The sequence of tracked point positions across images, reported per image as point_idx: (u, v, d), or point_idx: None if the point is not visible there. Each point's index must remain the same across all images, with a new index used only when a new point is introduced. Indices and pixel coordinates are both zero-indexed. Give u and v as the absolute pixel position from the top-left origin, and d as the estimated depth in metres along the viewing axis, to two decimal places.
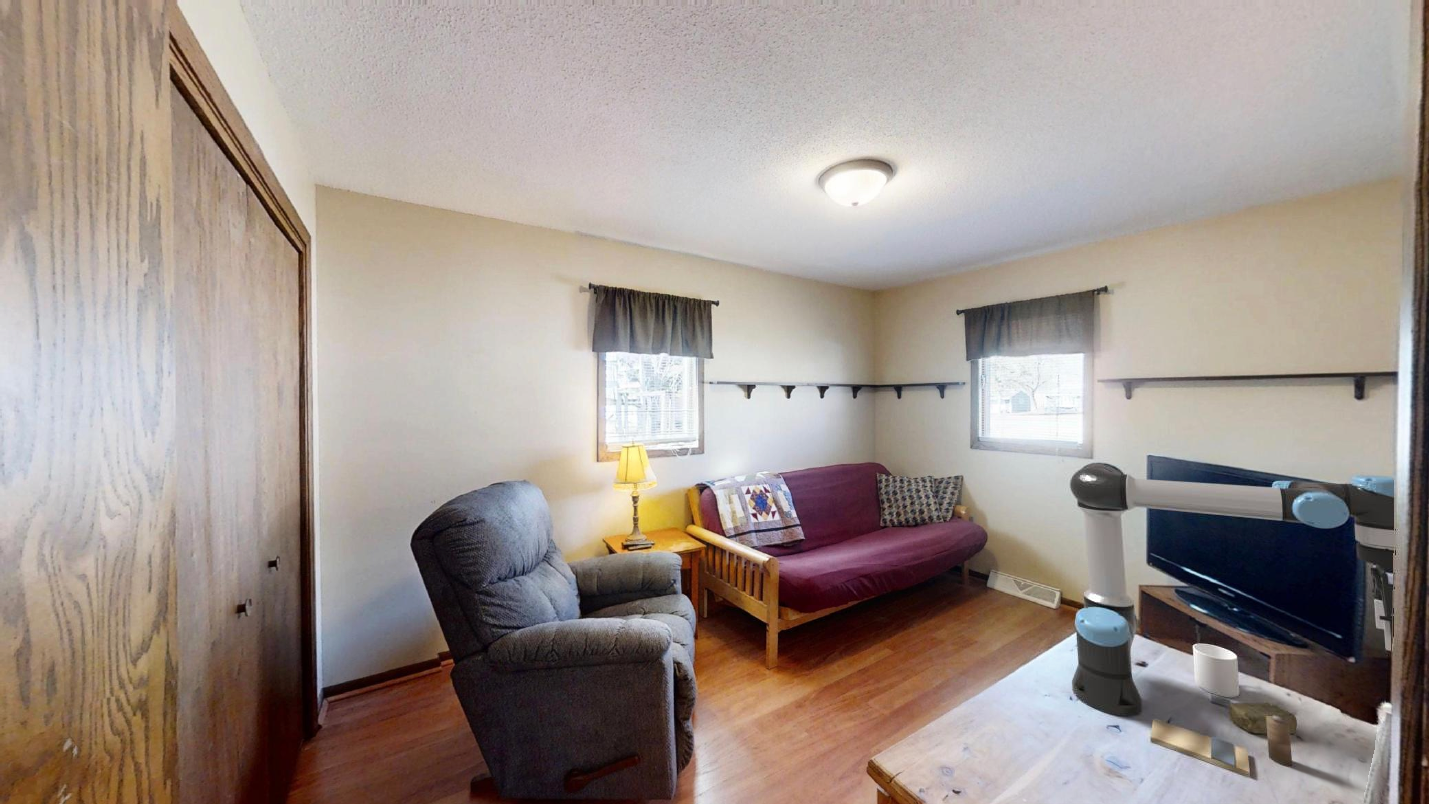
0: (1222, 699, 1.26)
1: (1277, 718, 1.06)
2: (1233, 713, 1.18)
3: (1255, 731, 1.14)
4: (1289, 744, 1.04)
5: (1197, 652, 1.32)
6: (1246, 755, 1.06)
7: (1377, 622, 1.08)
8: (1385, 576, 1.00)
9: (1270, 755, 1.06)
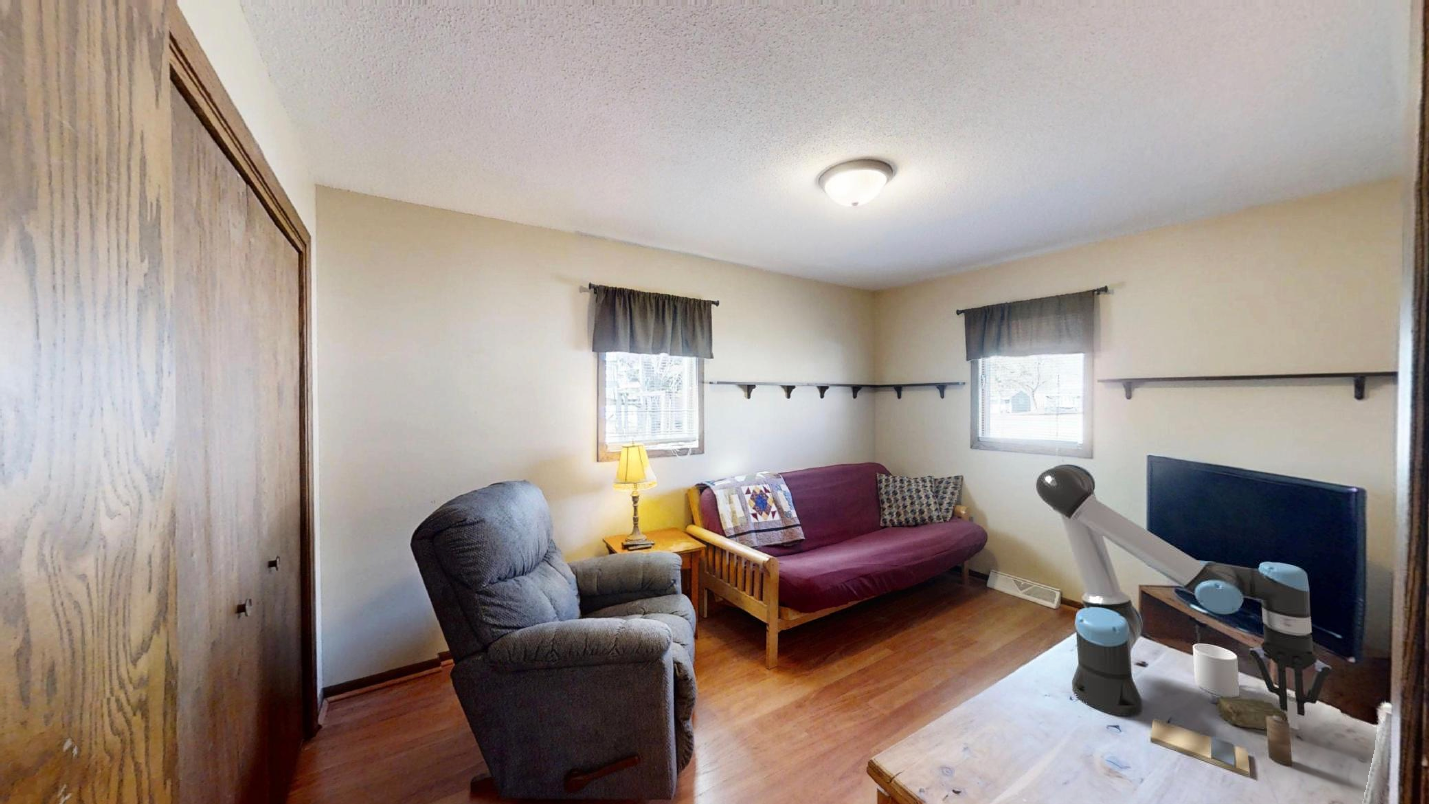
0: None
1: (1277, 718, 1.06)
2: (1220, 706, 1.21)
3: (1239, 724, 1.16)
4: (1289, 744, 1.04)
5: (1197, 652, 1.32)
6: (1246, 755, 1.06)
7: None
8: (1250, 650, 1.18)
9: (1270, 755, 1.06)
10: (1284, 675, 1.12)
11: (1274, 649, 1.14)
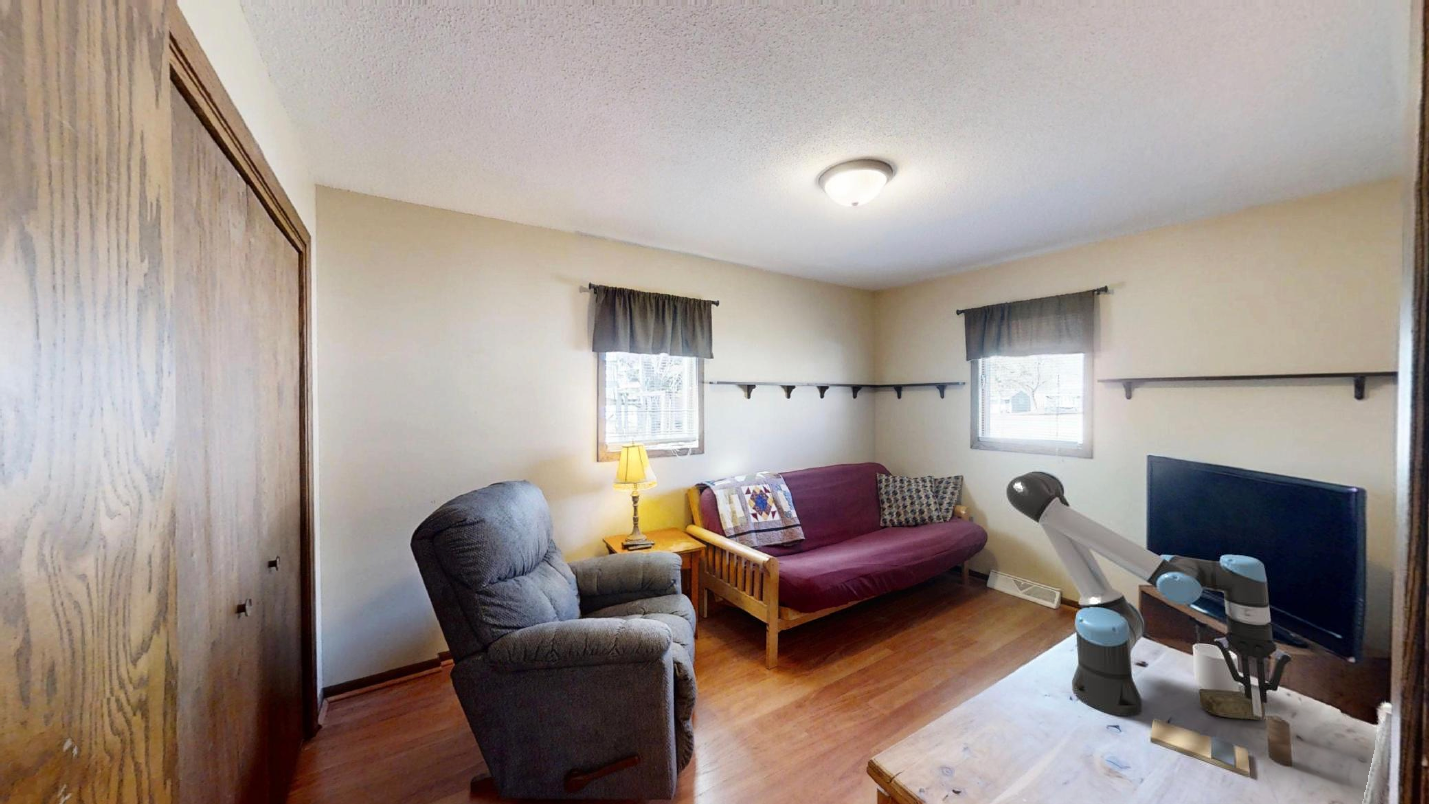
0: None
1: (1277, 718, 1.06)
2: (1201, 698, 1.24)
3: (1219, 713, 1.19)
4: (1289, 744, 1.04)
5: (1197, 652, 1.32)
6: (1246, 755, 1.06)
7: None
8: (1215, 641, 1.22)
9: (1270, 755, 1.06)
10: (1247, 664, 1.17)
11: (1237, 639, 1.18)
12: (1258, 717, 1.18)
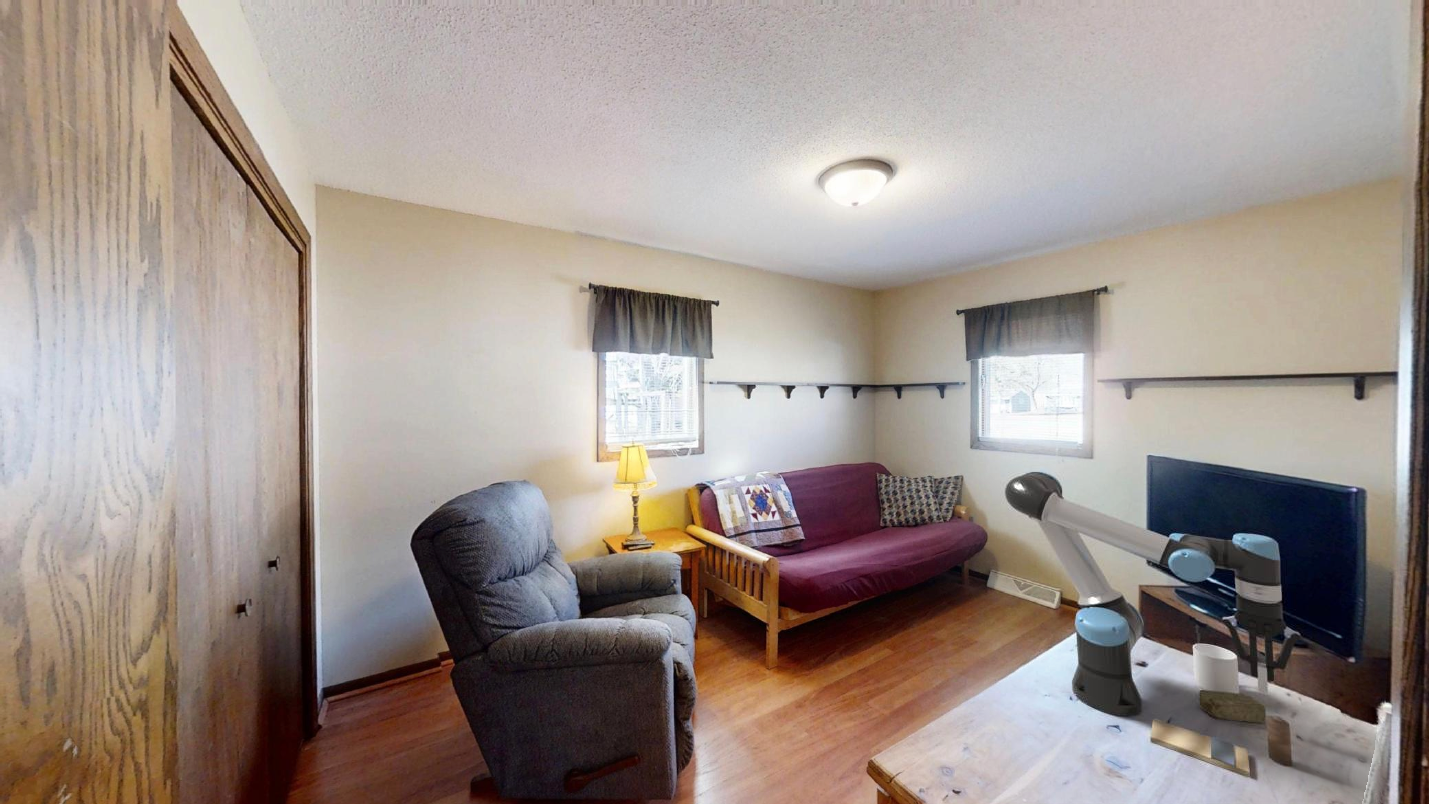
0: None
1: (1277, 718, 1.06)
2: (1201, 699, 1.24)
3: (1218, 716, 1.20)
4: (1289, 744, 1.04)
5: (1197, 652, 1.32)
6: (1246, 755, 1.06)
7: None
8: (1223, 619, 1.21)
9: (1270, 755, 1.06)
10: (1255, 642, 1.16)
11: (1246, 617, 1.17)
12: (1258, 720, 1.17)
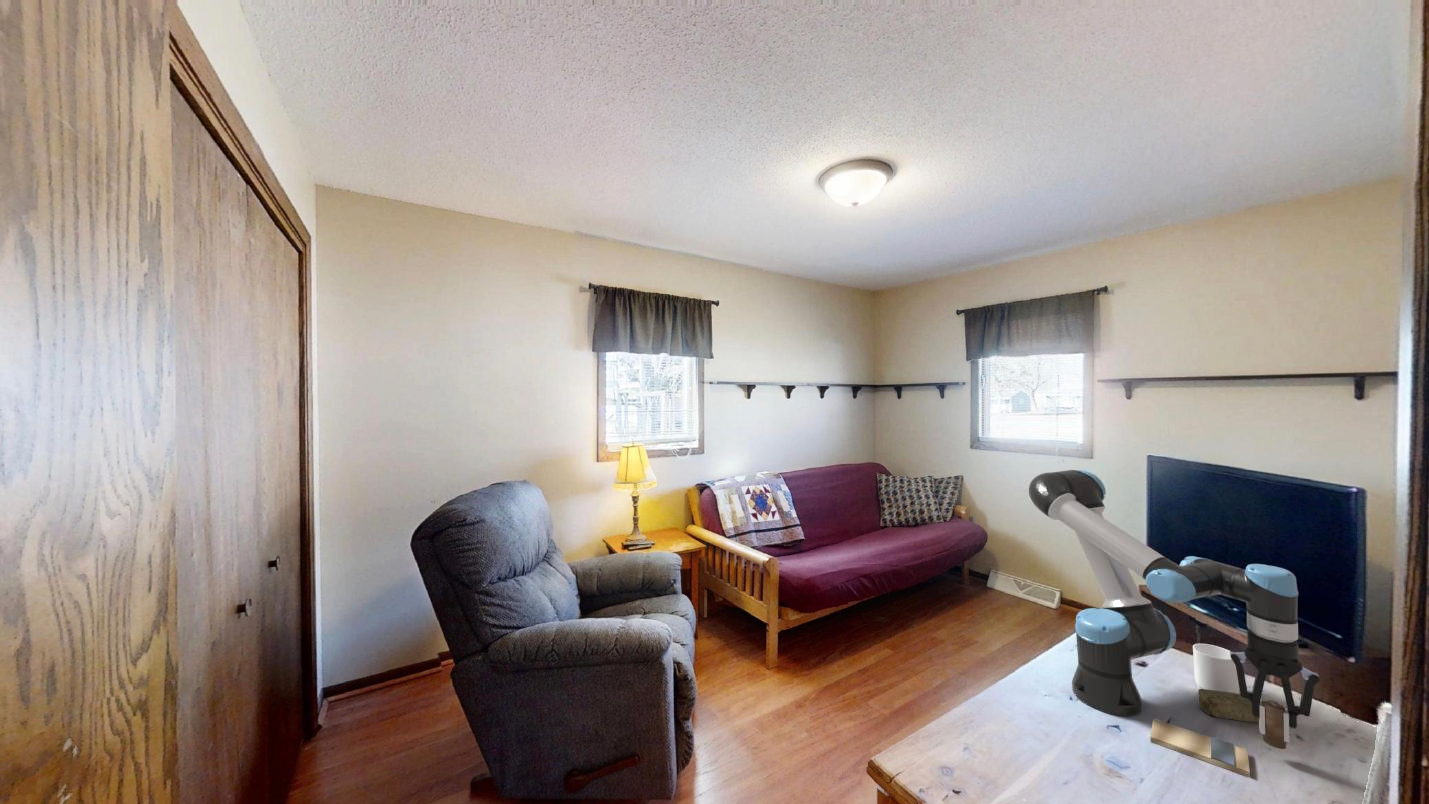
0: None
1: (1273, 702, 1.06)
2: (1200, 698, 1.24)
3: (1215, 714, 1.20)
4: None
5: (1197, 652, 1.32)
6: (1246, 755, 1.06)
7: None
8: None
9: (1264, 738, 1.07)
10: (1262, 682, 1.07)
11: (1258, 656, 1.07)
12: (1257, 720, 1.17)
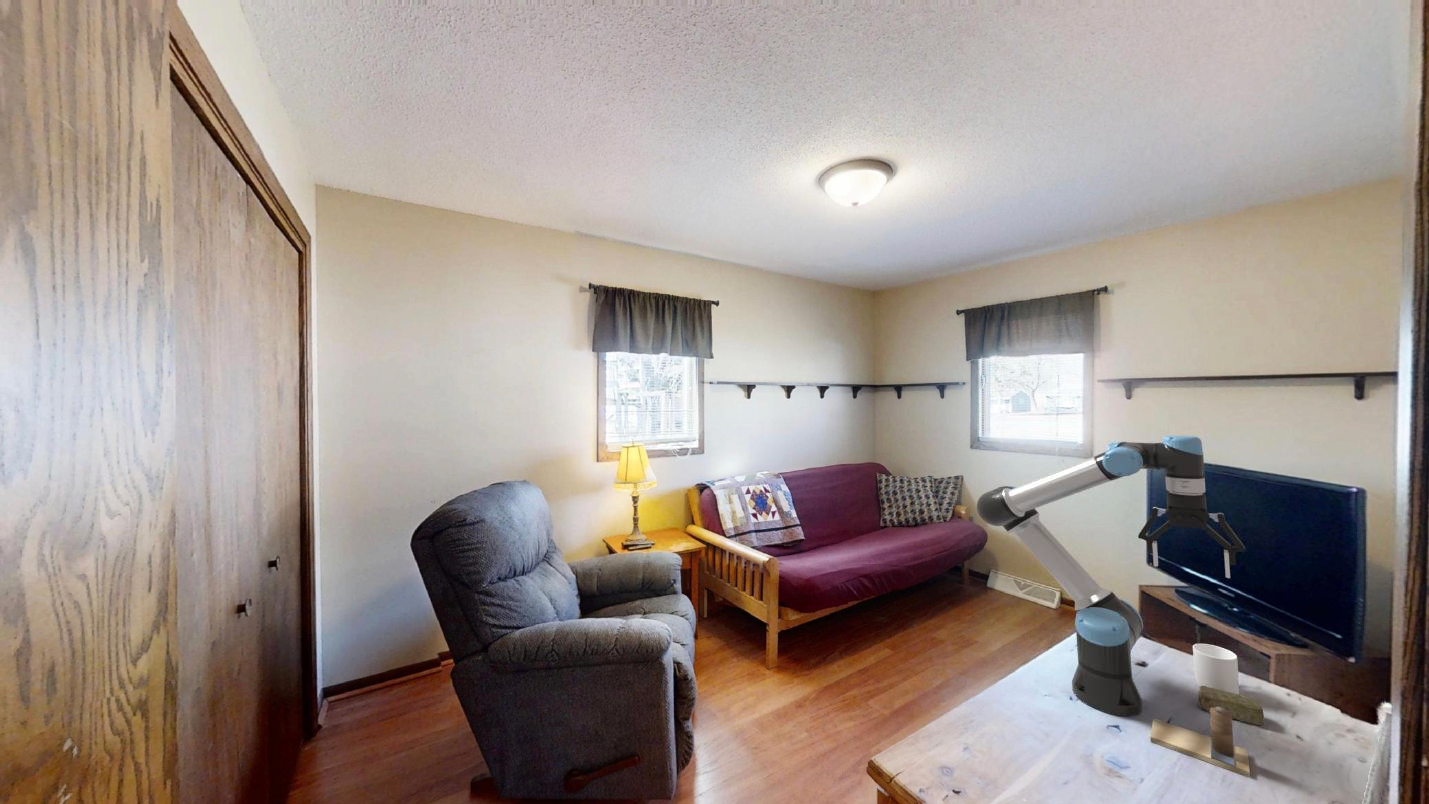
0: None
1: (1220, 709, 1.07)
2: None
3: (1207, 709, 1.22)
4: (1231, 735, 1.06)
5: (1197, 652, 1.32)
6: (1246, 755, 1.06)
7: None
8: None
9: (1213, 746, 1.08)
10: (1166, 529, 1.28)
11: (1175, 514, 1.26)
12: (1253, 722, 1.17)
